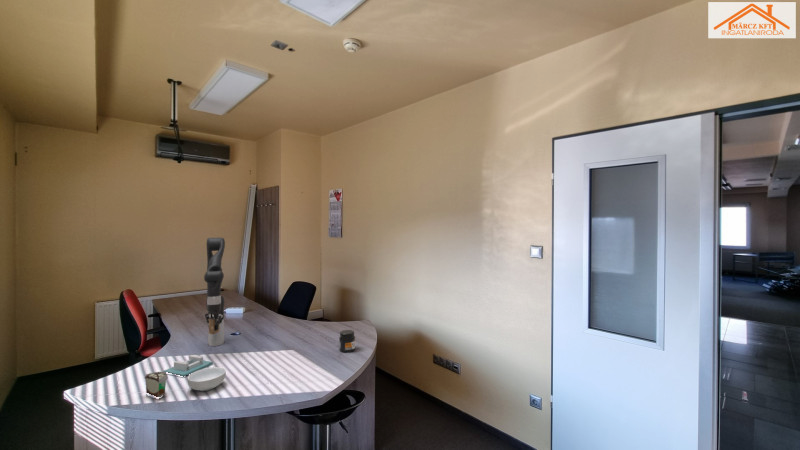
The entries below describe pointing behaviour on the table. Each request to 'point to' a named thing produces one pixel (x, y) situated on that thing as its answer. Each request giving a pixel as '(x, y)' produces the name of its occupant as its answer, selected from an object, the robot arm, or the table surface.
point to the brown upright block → (212, 326)
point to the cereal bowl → (206, 378)
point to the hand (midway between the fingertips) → (214, 330)
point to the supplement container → (347, 341)
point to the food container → (156, 383)
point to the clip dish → (205, 364)
